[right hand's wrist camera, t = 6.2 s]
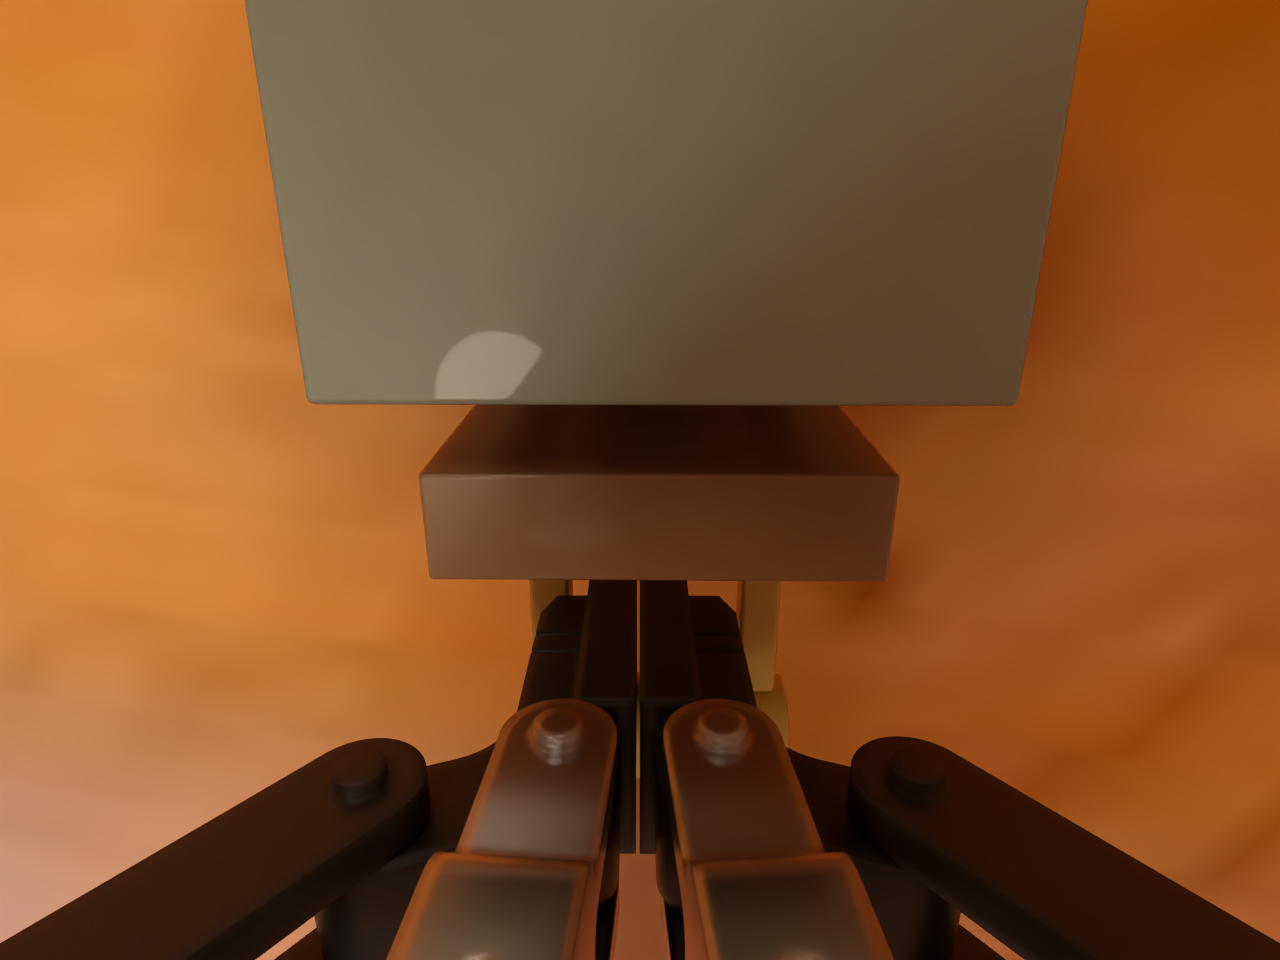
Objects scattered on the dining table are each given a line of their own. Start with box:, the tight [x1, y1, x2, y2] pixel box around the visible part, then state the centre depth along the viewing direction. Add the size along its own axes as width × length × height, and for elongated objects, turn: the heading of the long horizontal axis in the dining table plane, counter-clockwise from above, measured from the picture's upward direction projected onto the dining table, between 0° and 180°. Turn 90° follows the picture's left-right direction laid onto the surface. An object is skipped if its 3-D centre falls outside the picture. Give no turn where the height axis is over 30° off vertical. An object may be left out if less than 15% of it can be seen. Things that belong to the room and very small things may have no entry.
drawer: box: [419, 405, 900, 778], centre depth 10 cm, size 22×5×9 cm, turn 0°
